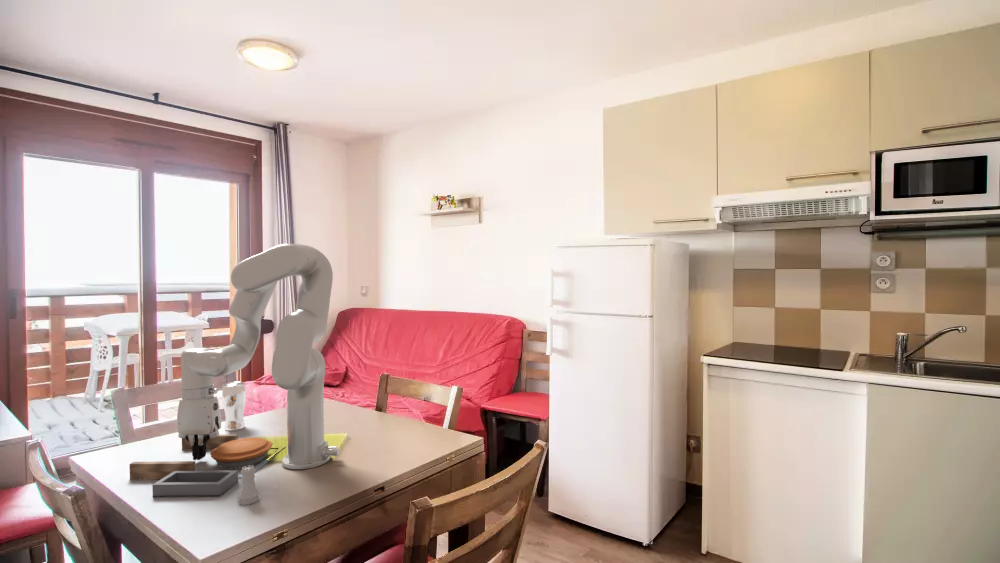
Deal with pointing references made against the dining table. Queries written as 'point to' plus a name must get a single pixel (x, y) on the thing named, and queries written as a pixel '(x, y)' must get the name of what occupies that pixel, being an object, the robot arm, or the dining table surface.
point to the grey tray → (195, 484)
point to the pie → (241, 452)
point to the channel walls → (165, 468)
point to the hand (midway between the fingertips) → (199, 458)
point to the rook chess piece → (248, 487)
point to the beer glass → (234, 405)
